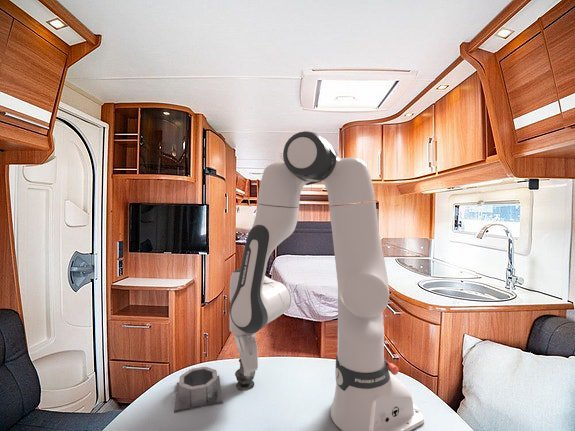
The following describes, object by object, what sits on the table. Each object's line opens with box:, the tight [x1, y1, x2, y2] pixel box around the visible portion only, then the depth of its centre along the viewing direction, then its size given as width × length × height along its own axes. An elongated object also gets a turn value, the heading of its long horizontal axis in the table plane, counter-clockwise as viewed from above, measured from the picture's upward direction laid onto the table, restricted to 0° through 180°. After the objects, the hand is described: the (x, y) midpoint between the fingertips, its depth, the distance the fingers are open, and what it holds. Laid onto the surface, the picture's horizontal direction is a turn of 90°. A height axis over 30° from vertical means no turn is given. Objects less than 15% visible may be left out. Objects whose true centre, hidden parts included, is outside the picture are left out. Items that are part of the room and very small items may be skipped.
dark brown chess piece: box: [234, 357, 256, 392], centre depth 85 cm, size 6×6×12 cm
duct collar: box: [173, 366, 224, 413], centre depth 81 cm, size 12×12×5 cm
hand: (245, 369), depth 85 cm, fingers closed on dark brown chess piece, 3 cm apart
